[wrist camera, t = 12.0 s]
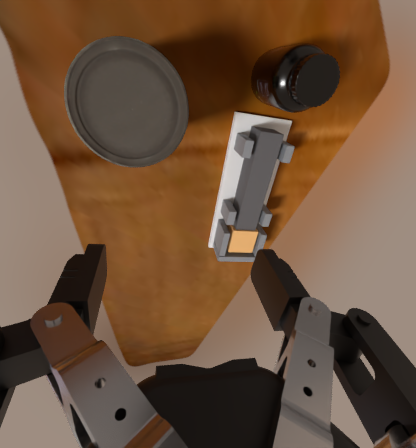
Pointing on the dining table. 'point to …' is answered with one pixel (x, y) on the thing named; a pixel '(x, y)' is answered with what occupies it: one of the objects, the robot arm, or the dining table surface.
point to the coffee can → (126, 101)
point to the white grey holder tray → (235, 155)
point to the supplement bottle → (295, 77)
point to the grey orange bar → (253, 188)
